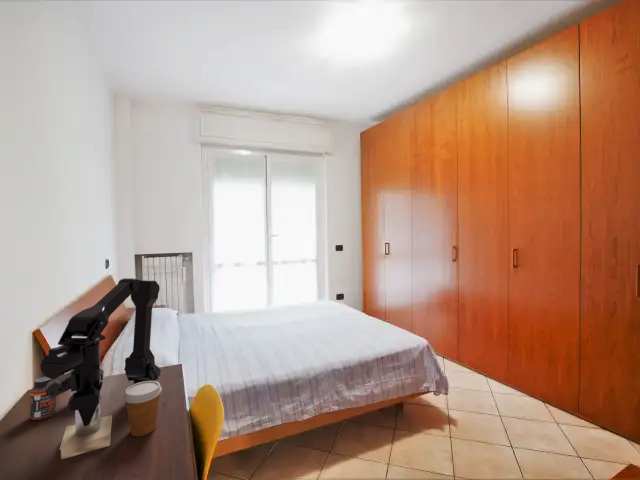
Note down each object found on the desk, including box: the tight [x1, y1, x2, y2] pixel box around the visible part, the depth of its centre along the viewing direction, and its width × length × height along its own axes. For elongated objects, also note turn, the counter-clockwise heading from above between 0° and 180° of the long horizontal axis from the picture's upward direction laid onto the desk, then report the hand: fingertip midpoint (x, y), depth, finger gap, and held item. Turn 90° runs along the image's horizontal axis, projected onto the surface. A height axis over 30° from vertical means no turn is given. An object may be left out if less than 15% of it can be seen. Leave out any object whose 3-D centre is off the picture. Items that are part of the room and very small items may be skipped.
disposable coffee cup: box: [122, 380, 162, 437], centre depth 91 cm, size 10×10×12 cm
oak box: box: [59, 415, 113, 460], centre depth 85 cm, size 10×10×3 cm
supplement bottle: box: [29, 376, 57, 421], centre depth 97 cm, size 6×6×11 cm
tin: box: [74, 395, 102, 436], centre depth 85 cm, size 6×6×8 cm
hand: (88, 419), depth 85 cm, fingers open, 6 cm apart
